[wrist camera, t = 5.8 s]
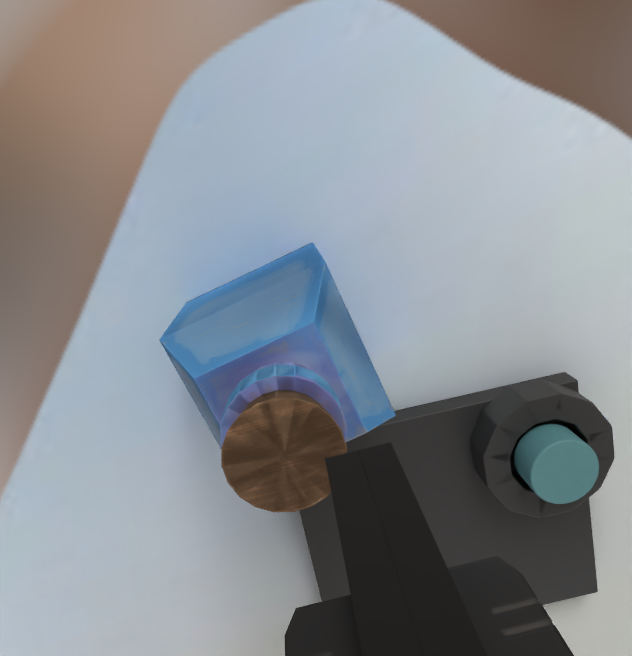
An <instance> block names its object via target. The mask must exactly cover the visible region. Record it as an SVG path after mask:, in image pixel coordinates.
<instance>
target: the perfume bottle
mask: <svg viewBox="0 0 632 656" xmlns="http://www.w3.org/2000/svg"><path fill="white" fill-rule="evenodd" d="M160 342H161V344H162V345H163V347H164V349H165V351H166V352H167V354H168V356H169V358H170V360H171V361H172V363H173V365H174V367H175V368H176V370H177V372H178V374H179V375H180V377H181V379H182V381H183V382H184V384H185V386H186V388H187V389H188V391H189V393H190V395H191V397H192V398H193V400H194V402H195V404H196V405H197V407H198V409H199V411H200V412H201V414H202V416H203V418H204V419H205V421H206V423H207V425H208V426H209V428H210V430H211V432H212V433H213V435H214V437H215V439H216V441H217V442H218V444H219V446H220V448H221V449H222V468H223V471H224V473H225V476H226V479H227V482H228V483H229V485H230V486H231V487H232V488H233V490H234V491H235V492H236V493H237V494H238V496H239V497H241V498H242V499H244V500H245V501H247V502H248V503H250V504H251V505H253V506H255V507H257V508H261V509H264V510H268V511H271V512H295V511H298V510H301V509H305V508H308V507H311V506H313V505H315V504H316V503H318V502H319V501H321V500H322V499H324V498H325V497H327V496H328V495H329V494H330V493H331V488H330V483H329V478H328V473H327V467H326V462H325V458H328V457H332V456H336V455H340V454H344V453H347V445H346V442H347V441H349V440H351V439H354V438H356V437H358V436H360V435H362V434H365V433H367V432H369V431H370V430H372V429H374V428H375V427H377V426H379V425H380V424H382V423H384V422H386V421H387V420H389V419H391V418H392V417H394V416H396V414H395V412H394V410H393V408H392V406H391V403H390V401H389V399H388V397H387V395H386V393H385V390H384V388H383V386H382V384H381V382H380V380H379V377H378V375H377V373H376V371H375V369H374V367H373V364H372V362H371V360H370V358H369V356H368V354H367V351H366V349H365V347H364V345H363V343H362V341H361V338H360V336H359V334H358V332H357V330H356V328H355V325H354V323H353V321H352V319H351V317H350V315H349V312H348V310H347V308H346V306H345V304H344V302H343V299H342V297H341V295H340V293H339V291H338V289H337V287H336V284H335V282H334V280H333V278H332V276H331V274H330V271H329V269H328V267H327V265H326V263H325V261H324V259H323V258H322V256H321V255H320V253H319V252H318V250H317V249H316V247H315V246H314V244H313V243H311V244H308V245H306V246H304V247H302V248H300V249H298V250H296V251H294V252H292V253H290V254H287V255H285V256H283V257H281V258H279V259H277V260H275V261H273V262H271V263H269V264H266V265H264V266H262V267H260V268H258V269H256V270H254V271H252V272H250V273H248V274H245V275H243V276H241V277H239V278H237V279H235V280H233V281H231V282H229V283H227V284H224V285H222V286H220V287H218V288H216V289H214V290H212V291H210V292H208V293H206V294H203V295H201V296H199V297H197V298H195V299H193V300H191V301H189V302H187V303H186V304H185V306H184V307H183V308H182V310H181V311H180V312H179V314H178V315H177V316H176V318H175V319H174V320H173V322H172V323H171V325H170V326H169V327H168V329H167V330H166V331H165V333H164V334H163V335H162V337H161V338H160Z"/></svg>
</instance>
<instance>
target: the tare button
mask: <svg viewBox="0 0 632 656" xmlns="http://www.w3.org/2000/svg"><path fill="white" fill-rule="evenodd" d="M514 462H515V467H516V469H517V471H518V473H519V474H520V476H521V477H522V478H523V479H524V480H525V482H526V483H527V484H528V485H529V486H530V487H531V489H532V490H533V491H534V492H535V493H536V494H537V495H538V496H539V497H540V498H541V499H543V500H545V501H547V502H550V503H554V504H566V503H570V502H573V501H576V500H578V499H580V498H581V497H583V496H584V495H585V494H586V493H588V492H589V490H590V489H591V488H592V487H593V485H594V484H595V482H596V480H597V477H598V473H599V462H598V458H597V456H596V454H595V452H594V450H593V449H592V448H591V447H590V446H589V445H588V444H586V443H585V442H584V441H583V440H582V439H580V438H579V437H578V436H577V435H575V434H574V433H573V432H572V431H571V430H569V429H568V428H566V427H564V426H562V425H558V424H544V425H540V426H537V427H535V428H533V429H531V430H530V431H528V432H527V433H526V434H525V435H524V436H523V437H522V438H521V440H520V441H519V443H518V445H517V447H516V450H515V454H514Z"/></svg>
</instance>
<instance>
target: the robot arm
mask: <svg viewBox="0 0 632 656" xmlns="http://www.w3.org/2000/svg"><path fill="white" fill-rule="evenodd" d="M325 462H326V467H327V473H328V478H329V483H330V488H331V494H332V499H333V504H334V509H335V515H336V520H337V525H338V530H339V536H340V541H341V546H342V551H343V557H344V562H345V567H346V572H347V578H348V583H349V588H350V593H351V595H347V596H343V597H339V598H335V599H331V600H327V601H323V602H319V603H315V604H311V605H307V606H303V607H299V608H296V609H295V612H294V614H293V617H292V619H291V621H290V624H289V626H288V629H287V631H286V634H285V656H574V655H573V653H572V652H571V650H570V649H569V647H568V646H567V644H566V642H565V641H564V639H563V638H562V636H561V634H560V633H559V631H558V630H557V628H556V627H555V625H553V624H552V621H551V619H550V617H549V615H548V614H547V612H546V611H545V609H544V608H543V606H542V604H540V603H539V601H538V598H537V596H536V595H535V593H534V592H533V590H532V589H531V587H530V585H529V584H528V582H527V581H526V579H525V577H524V576H523V574H522V573H521V572H519V571H518V570H516V569H515V568H514V567H512V566H511V565H509V564H508V563H507V562H505V561H504V560H502V559H501V558H500V557H498V556H494V557H490V558H486V559H482V560H478V561H474V562H470V563H466V564H462V565H458V566H454V567H450V568H447V566H446V563H445V561H444V559H443V557H442V555H441V552H440V550H439V548H438V546H437V543H436V541H435V539H434V537H433V535H432V532H431V530H430V528H429V526H428V523H427V521H426V519H425V517H424V515H423V512H422V510H421V508H420V506H419V503H418V501H417V499H416V497H415V495H414V492H413V490H412V488H411V486H410V484H409V481H408V479H407V477H406V475H405V472H404V470H403V468H402V466H401V464H400V461H399V459H398V457H397V455H396V452H395V450H394V448H393V446H392V444H391V442H388V443H384V444H380V445H376V446H372V447H368V448H364V449H360V450H356V451H352V452H348V453H344V454H340V455H336V456H332V457H328V458H325Z"/></svg>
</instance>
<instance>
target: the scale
mask: <svg viewBox="0 0 632 656" xmlns="http://www.w3.org/2000/svg"><path fill="white" fill-rule="evenodd" d="M394 412H395V414H396V416H394V417H392V418H391V419H389V420H387V421H386V422H384V423H382V424H380V425H379V426H377V427H375V428H374V429H372V430H370V431H369V432H367V433H365V434H362V435H360V436H358V437H356V438H354V439H351V440H349V441H347V442H346V445H347V453H348V452H352V451H356V450H360V449H364V448H368V447H372V446H376V445H380V444H384V443H388V442H391V444H392V446H393V448H394V450H395V452H396V455H397V457H398V459H399V461H400V464H401V466H402V468H403V470H404V472H405V475H406V477H407V479H408V481H409V484H410V486H411V488H412V490H413V492H414V495H415V497H416V499H417V501H418V503H419V506H420V508H421V510H422V512H423V515H424V517H425V519H426V521H427V523H428V526H429V528H430V530H431V532H432V535H433V537H434V539H435V541H436V543H437V546H438V548H439V550H440V552H441V555H442V557H443V559H444V561H445V563H446V566H447V568H450V567H454V566H458V565H462V564H466V563H470V562H474V561H478V560H482V559H486V558H490V557H494V556H498V557H500V558H501V559H502V560H504V561H505V562H507V563H508V564H509V565H511V566H512V567H514V568H515V569H516V570H518V571H519V572H521V573H522V574H523V576H524V577H525V579H526V581H527V582H528V584H529V585H530V587H531V589H532V590H533V592H534V593H535V595H536V596H537V598H538V601H539V603H540V604H542V605H544V604H548V603H553V602H557V601H561V600H565V599H570V598H574V597H578V596H582V595H586V594H591V593H595V592H597V591H598V590H597V579H596V569H595V558H594V548H593V538H592V527H591V517H590V506H589V497H590V496H591V495H592V494H594V493H595V492H596V491H597V490H599V488H600V487H601V485H602V483H603V481H604V479H605V477H606V475H607V473H608V471H609V469H610V467H611V465H612V463H613V460H614V446H613V433H612V427H611V424H610V423H609V422H608V421H607V420H606V418H605V417H604V416H603V415H602V413H601V412H600V411H599V410H598V409H597V407H596V406H595V405H594V404H593V403H592V402H591V401H589V400H588V399H586V398H585V397H583V396H582V395H580V394H579V392H578V381H577V380H576V379H575V378H573V377H572V376H570V375H569V374H567V373H565V372H563V373H559V374H555V375H550V376H546V377H542V378H537V379H533V380H528V381H524V382H520V383H515V384H511V385H507V386H502V387H498V388H493V389H489V390H485V391H480V392H476V393H472V394H467V395H463V396H459V397H454V398H450V399H445V400H441V401H437V402H432V403H428V404H424V405H419V406H415V407H410V408H406V409H402V410H397V411H394ZM544 424H558V425H562V426H564V427H566V428H568V429H569V430H571V431H572V432H573V433H574V434H575V435H577V436H578V437H579V438H580V439H582V440H583V441H584V442H585V443H586V444H588V445H589V446H590V447H591V448H592V449H593V450H594V452H595V454H596V456H597V458H598V462H599V473H598V477H597V480H596V482H595V484H594V485H593V487H592V488H591V489H590V490H589V492H588V493H586V494H585V495H584V496H583V497H581V498H580V499H578V500H576V501H573V502H570V503H566V504H554V503H550V502H547V501H545V500H543V499H541V498H540V497H539V496H538V495H537V494H536V493H535V492H534V491H533V490H532V489H531V487H530V486H529V485H528V484H527V483H526V482H525V480H524V479H523V478H522V477H521V476H520V474H519V473H518V471H517V469H516V467H515V462H514V454H515V450H516V447H517V445H518V443H519V441H520V440H521V438H522V437H523V436H524V435H525V434H526V433H527V432H528V431H530V430H531V429H533V428H535V427H537V426H540V425H544ZM299 511H300V515H301V519H302V523H303V527H304V531H305V535H306V539H307V543H308V547H309V551H310V555H311V559H312V563H313V567H314V571H315V575H316V579H317V583H318V587H319V591H320V595H321V598H322V602H323V601H327V600H331V599H335V598H339V597H343V596H347V595H351V593H350V588H349V583H348V578H347V572H346V567H345V562H344V557H343V551H342V546H341V541H340V536H339V530H338V525H337V520H336V515H335V509H334V504H333V499H332V494H331V493H330V494H329V495H328V496H327V497H325V498H324V499H322V500H321V501H319V502H318V503H316V504H315V505H313V506H311V507H308V508H305V509H301V510H299Z"/></svg>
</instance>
